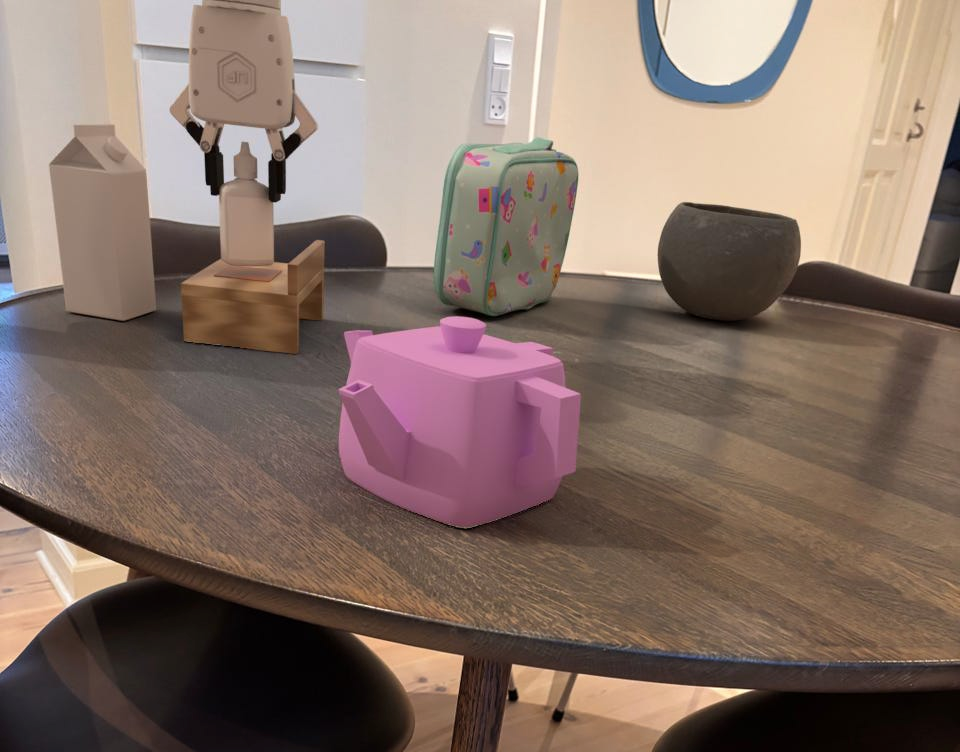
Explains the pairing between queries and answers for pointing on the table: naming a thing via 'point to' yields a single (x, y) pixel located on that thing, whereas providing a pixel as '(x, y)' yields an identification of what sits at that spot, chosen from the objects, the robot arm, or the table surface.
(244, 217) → the eye dropper bottle
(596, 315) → the table surface
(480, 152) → the lunch box
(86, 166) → the milk carton
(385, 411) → the teakettle
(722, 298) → the bowl
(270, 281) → the wooden toy chair
